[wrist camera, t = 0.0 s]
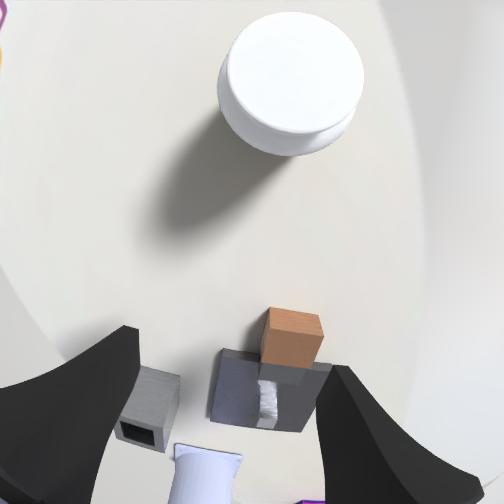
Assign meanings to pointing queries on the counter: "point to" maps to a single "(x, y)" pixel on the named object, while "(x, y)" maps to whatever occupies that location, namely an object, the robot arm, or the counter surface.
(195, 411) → the counter surface
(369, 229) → the counter surface
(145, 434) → the hollow square tube
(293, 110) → the supplement bottle
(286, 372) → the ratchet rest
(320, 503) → the supplement box
